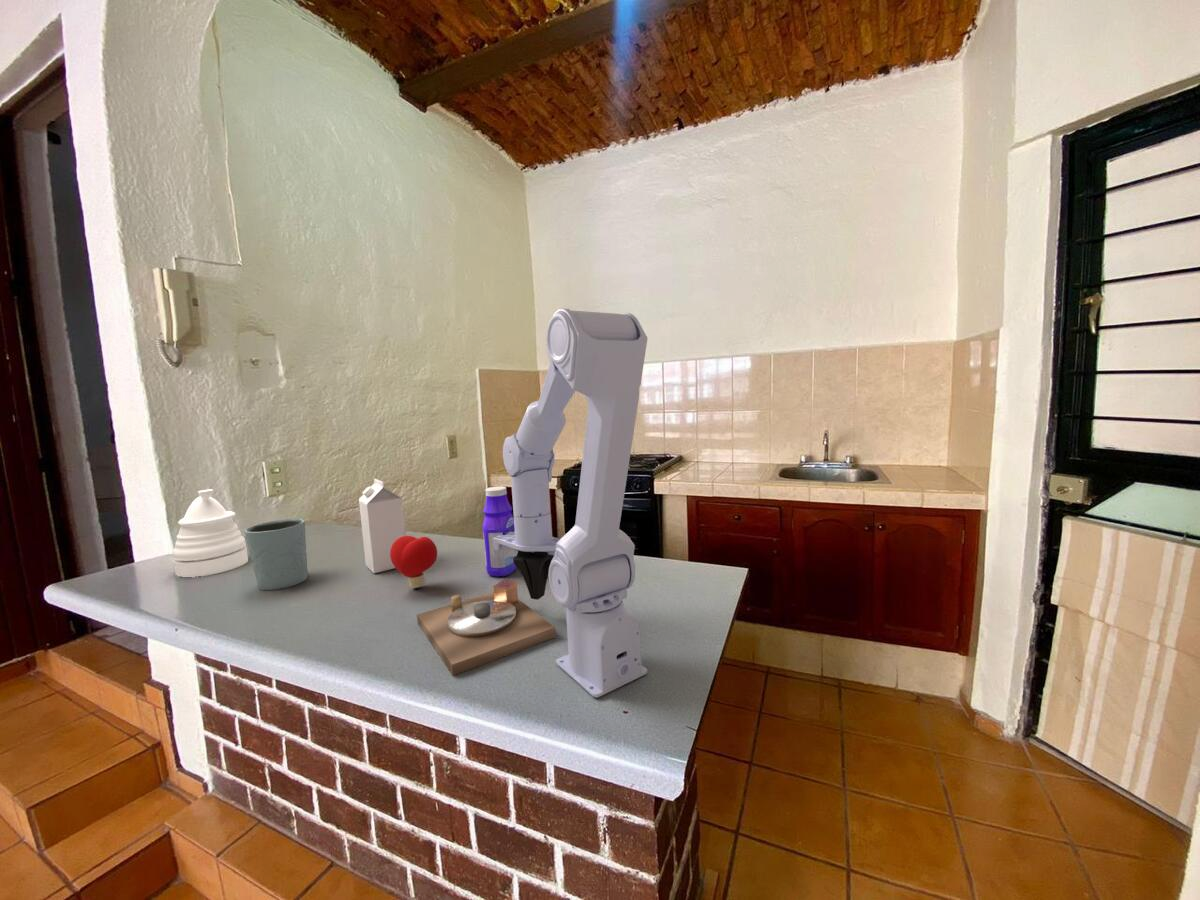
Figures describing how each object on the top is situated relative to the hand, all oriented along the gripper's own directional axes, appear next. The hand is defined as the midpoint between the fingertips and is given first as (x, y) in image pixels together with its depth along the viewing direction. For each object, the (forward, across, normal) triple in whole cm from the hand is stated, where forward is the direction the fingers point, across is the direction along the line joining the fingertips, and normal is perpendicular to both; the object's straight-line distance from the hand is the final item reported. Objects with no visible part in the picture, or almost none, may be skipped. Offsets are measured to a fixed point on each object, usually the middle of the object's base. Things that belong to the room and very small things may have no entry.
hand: (537, 596), depth 74 cm
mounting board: (+3, +6, +6) cm, 9 cm away
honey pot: (+4, +85, +4) cm, 86 cm away
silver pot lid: (+2, +6, +5) cm, 8 cm away
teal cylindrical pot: (+4, +59, +5) cm, 59 cm away
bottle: (+4, +18, -14) cm, 23 cm away
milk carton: (+4, +45, -9) cm, 46 cm away
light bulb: (+4, +29, -2) cm, 29 cm away
